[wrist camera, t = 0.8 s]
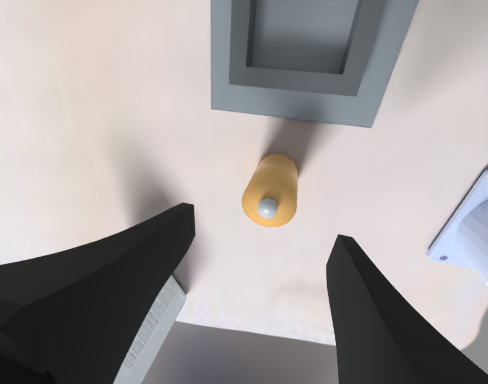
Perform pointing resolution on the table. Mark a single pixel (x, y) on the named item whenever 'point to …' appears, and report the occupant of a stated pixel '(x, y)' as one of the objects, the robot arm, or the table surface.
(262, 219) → the tan capped bottle
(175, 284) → the white wifi router
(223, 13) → the housing
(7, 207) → the table surface
